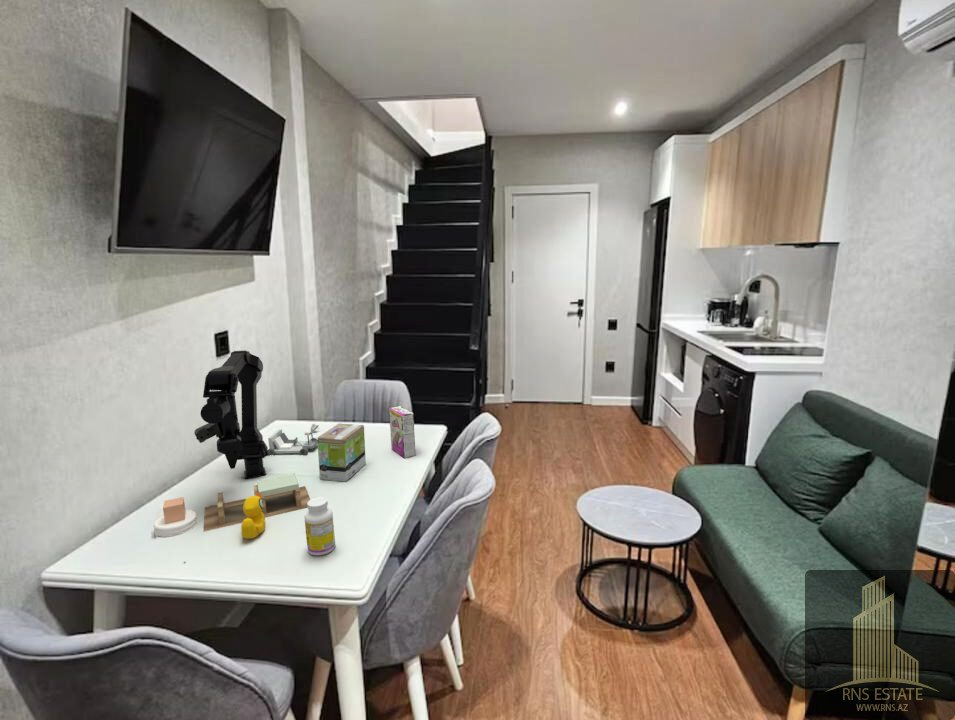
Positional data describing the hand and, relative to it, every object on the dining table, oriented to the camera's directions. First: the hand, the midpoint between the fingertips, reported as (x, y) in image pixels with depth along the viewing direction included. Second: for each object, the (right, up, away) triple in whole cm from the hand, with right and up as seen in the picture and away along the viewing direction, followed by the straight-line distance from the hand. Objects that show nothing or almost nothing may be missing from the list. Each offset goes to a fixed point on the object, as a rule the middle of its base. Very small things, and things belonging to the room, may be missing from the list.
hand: (232, 462), depth 148 cm
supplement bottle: (+34, -17, -24) cm, 45 cm away
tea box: (+27, -8, +21) cm, 36 cm away
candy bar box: (+45, -4, +37) cm, 58 cm away
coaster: (-9, -16, -13) cm, 22 cm away
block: (-9, -12, -13) cm, 20 cm away
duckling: (+14, -16, -16) cm, 26 cm away
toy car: (+4, -4, +42) cm, 42 cm away
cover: (+14, -7, -2) cm, 16 cm away
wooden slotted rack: (+10, -13, -3) cm, 16 cm away
